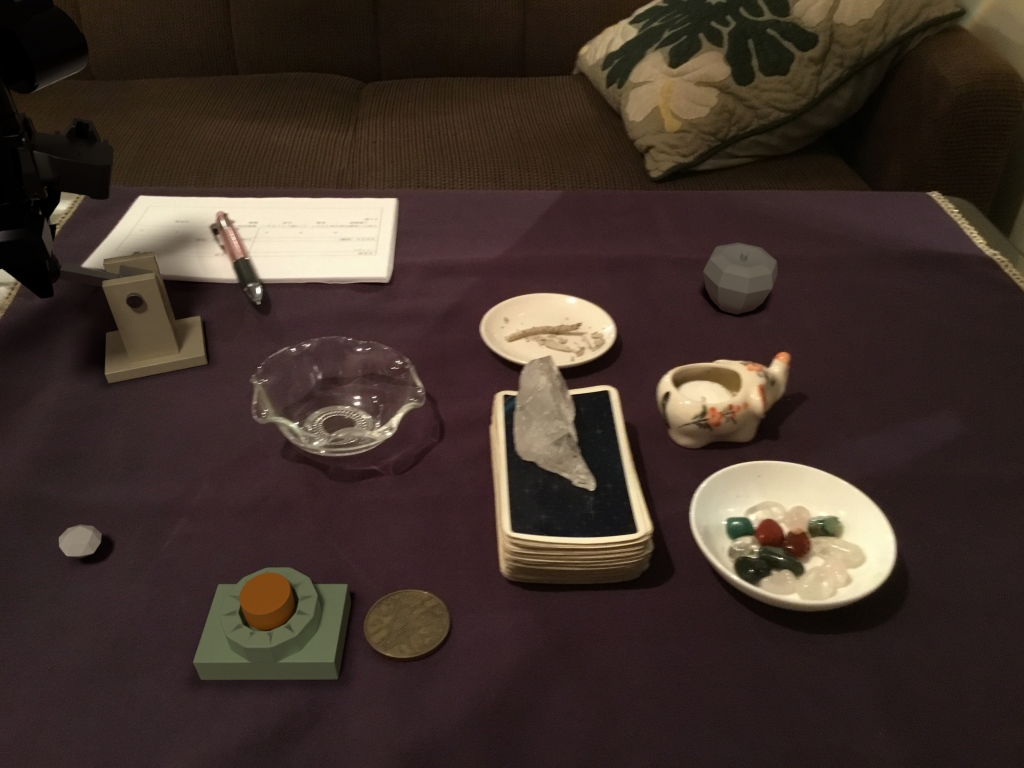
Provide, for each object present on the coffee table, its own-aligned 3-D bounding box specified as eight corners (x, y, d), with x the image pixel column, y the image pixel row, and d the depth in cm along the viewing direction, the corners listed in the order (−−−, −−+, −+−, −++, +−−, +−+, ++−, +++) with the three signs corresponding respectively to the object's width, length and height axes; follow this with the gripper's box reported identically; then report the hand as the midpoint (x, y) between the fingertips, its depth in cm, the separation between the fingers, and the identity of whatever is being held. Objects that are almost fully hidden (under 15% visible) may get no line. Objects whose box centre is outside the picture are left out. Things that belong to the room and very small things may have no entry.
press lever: (15, 289, 68) (20, 257, 66) (19, 270, 70) (23, 239, 69) (147, 311, 73) (154, 282, 72) (147, 292, 76) (153, 264, 74)
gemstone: (52, 557, 58) (49, 534, 56) (86, 536, 60) (84, 513, 58) (77, 581, 58) (75, 559, 56) (111, 559, 60) (110, 536, 58)
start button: (239, 630, 50) (233, 614, 49) (251, 588, 53) (246, 572, 52) (289, 630, 51) (284, 614, 49) (299, 588, 53) (294, 572, 52)
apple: (776, 327, 83) (791, 274, 79) (701, 324, 83) (712, 271, 79) (761, 286, 89) (774, 234, 85) (691, 283, 89) (701, 232, 85)
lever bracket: (108, 384, 74) (73, 297, 68) (109, 341, 79) (76, 257, 73) (207, 364, 77) (182, 278, 71) (203, 324, 82) (178, 241, 76)
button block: (200, 681, 52) (185, 647, 49) (225, 601, 56) (212, 567, 54) (338, 680, 52) (330, 647, 49) (351, 601, 56) (344, 567, 54)
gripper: (85, 149, 56) (147, 327, 66) (93, 65, 69) (143, 224, 79) (-96, 170, 53) (-2, 354, 63) (-51, 79, 66) (20, 243, 76)
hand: (49, 287), depth 70 cm, fingers closed on press lever, 3 cm apart
